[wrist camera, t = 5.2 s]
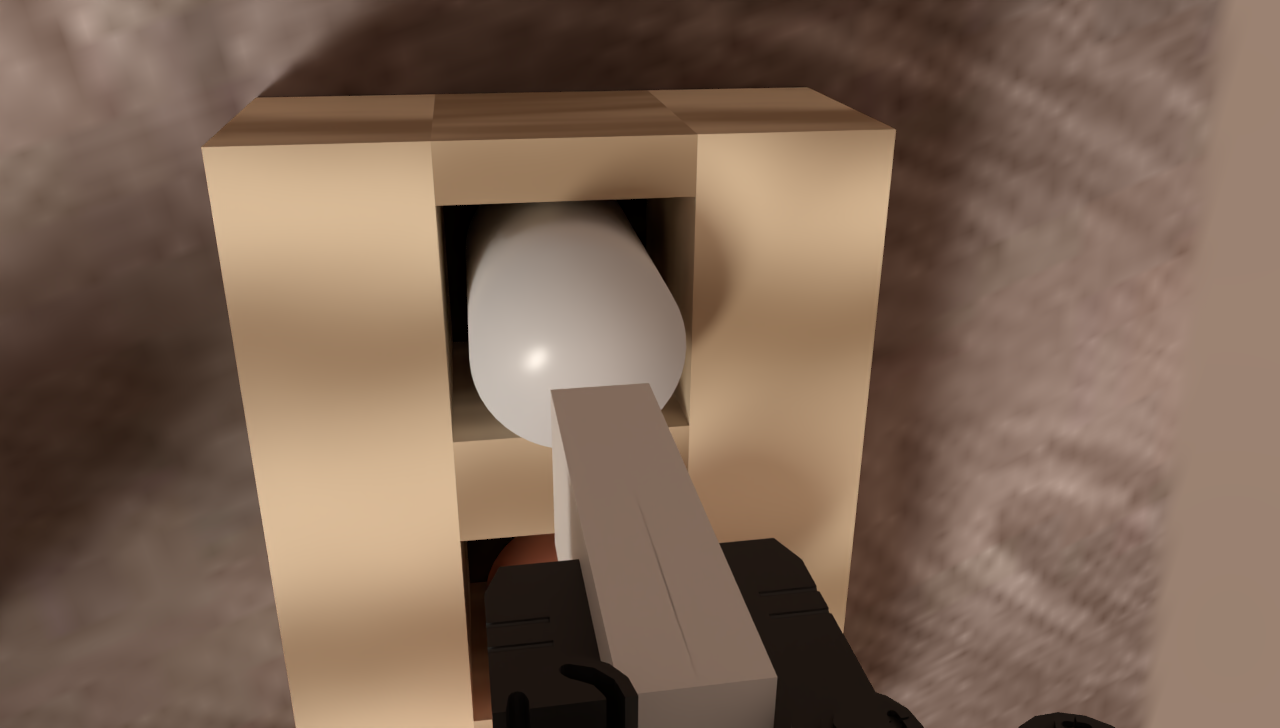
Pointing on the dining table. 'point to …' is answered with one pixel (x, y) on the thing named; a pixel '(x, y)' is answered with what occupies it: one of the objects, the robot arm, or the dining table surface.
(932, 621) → the dining table surface
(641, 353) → the grey plug
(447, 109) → the maple block
